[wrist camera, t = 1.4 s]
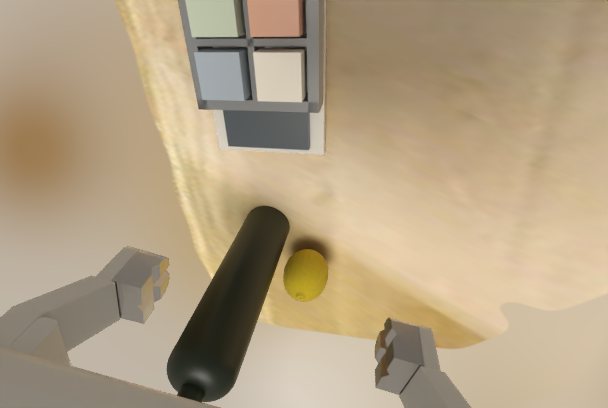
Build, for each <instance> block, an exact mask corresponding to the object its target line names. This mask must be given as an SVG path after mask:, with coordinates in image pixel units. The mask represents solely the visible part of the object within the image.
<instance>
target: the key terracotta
mask: <svg viewBox="0 0 608 408" xmlns="http://www.w3.org/2000/svg"><path fill="white" fill-rule="evenodd" d="M247 5H248V15H249V25H250V36H251V37H300V36H301V35H303V34H304V3H303V0H247Z"/></svg>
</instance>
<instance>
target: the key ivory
mask: <svg viewBox="0 0 608 408" xmlns="http://www.w3.org/2000/svg"><path fill="white" fill-rule="evenodd" d="M253 58H254V68H255V79H256V89H257V99H258V101H267V102H303V100H304V98H305V97H306V60H305V48H260V49H259V50H257V51H255V52H253Z"/></svg>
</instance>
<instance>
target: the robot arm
mask: <svg viewBox="0 0 608 408" xmlns="http://www.w3.org/2000/svg"><path fill="white" fill-rule="evenodd" d="M168 266H169V258H167V257H164V256H160V255H157V254H154V253H151V252H147V251H144V250H140V249H137V248H133V247H130V246H127V247H125V248H123V249H122V250H121V251H120V252H119V253H118V254H117V255H116V256H115V257H114V258H113V259H112V260H111V261H110V262H109V263H108V264H107V265H106V266H105V268H104V269H103V270H102V271H101V272H100V273H99V274H98V275H97V276H96V277H95V276H90V277H87V278H85V279H82V280H79V281H77V282H74V283H72V284H69V285H67V286H65V287H62V288H59V289H56V290H54V291H52V292H49V293H46V294H44V295H41V296H39V297H36V298H33V299H31V300H28V301H26V302H23V303H21V304H18V305H16V306H13V307H12V308H11V309H10V310H9V311H7V312H6V313H5V314H4V315H3V316H2V317H0V408H220V407H216V406H212V405H208V404H205V403H202V402H198V401H194V400H191V399H187V398H184V397H180V396H177V395H173V394H169V393H166V392H162V391H158V390H155V389H152V388H148V387H144V386H141V385H137V384H134V383H130V382H127V381H123V380H119V379H116V378H112V377H109V376H105V375H101V374H98V373H94V372H91V371H87V370H84V369H80V368H77V367H73V366H71V363H70V360H69V357H68V354H67V351H69V350H71V349H72V348H74V347H76V346H77V345H79V344H80V343H82V342H84V341H85V340H87V339H89V338H90V337H92V336H94V335H95V334H97V333H99V332H100V331H102V330H103V329H105V328H107V327H108V326H110V325H112V324H113V323H115V322H117V321H118V320H120V318H123V319H127V320H131V321H135V322H139V323H145V321H146V320H147V319H148V317H149V316H150V314H151V313H152V311H153V310H154V302H156V301H158V300H160V299H161V298H162V296H163V295H164V293H165V291H166V289H167V286H168V283H169V273H168V271H167V270H166V269H167V267H168ZM384 325H385V330H382V331H380V333H379V335H378V337H377V341H376V345H375V359H376V360H377V362H378V363H379V364H378V365H377V367H376V369H375V381H376V388H378V389H382V390H385V391H388V392H391V393H394V394H398V395H400V396H399V397H400V399H401V401H402V403H403V405H404V407H405V408H471V407H470V405H469V404H468V403H467V401H466V400H465V399H464V397H463V396H462V395H461V393H460V392H459V391H458V389H457V388H456V387H455V385H454V384H453V383H452V381H451V380H450V379H449V377H448V376H447V375H446V374H445V373H444V372H441V370H440V365H439V361H438V355H437V350H436V345H435V340H434V335H433V331H432V330H431V328H427V327H424V326H420V325H416V324H413V323H409V322H405V321H401V320H397V319H393V318H390V317H389V318H388V319H387V320H386V322H385V324H384Z"/></svg>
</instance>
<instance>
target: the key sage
mask: <svg viewBox="0 0 608 408" xmlns="http://www.w3.org/2000/svg"><path fill="white" fill-rule="evenodd" d="M185 2H186V7H187V13H188V18H189V24H190V29H191V35H192V37H239V36H242V35H244V34H246V29H245V20H244V10H243V0H185Z"/></svg>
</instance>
